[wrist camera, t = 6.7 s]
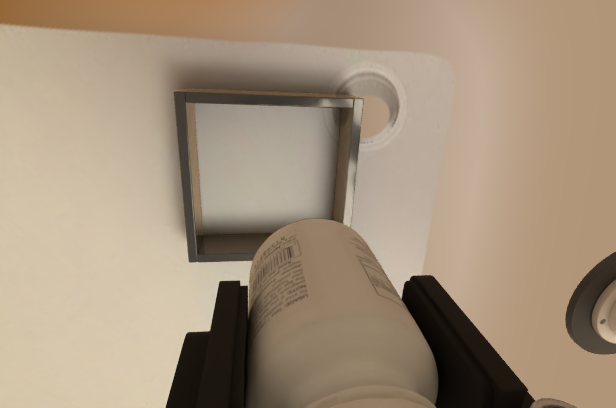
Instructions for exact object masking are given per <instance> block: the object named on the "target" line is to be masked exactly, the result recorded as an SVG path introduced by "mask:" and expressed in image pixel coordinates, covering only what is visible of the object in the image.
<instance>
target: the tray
mask: <svg viewBox="0 0 616 408" xmlns="http://www.w3.org/2000/svg"><path fill="white" fill-rule="evenodd" d="M174 99H175V111H176V122H177V133H178V144H179V156H180V167H181V178H182V190H183V201H184V212H185V224H186V235H187V246H188V258H189V262H223V261H253V259H254V257H255V255H256V253H257V251H258V249H259V248H260V247H261V245H262V244H263V243H264V242H265V241H266V240H267V239H268V238H269V237H270V236H271V235H272V234H273V233H270V234H221V235H203V222H202V208H201V193H200V179H199V164H198V150H197V135H196V121H195V106H194V103H210V104H239V105H268V106H297V107H326V108H342V110H341V123H340V135H339V148H338V160H337V173H336V185H335V198H334V210H333V221H336V222H339V223H342V224H344V225H347V226H348V227H350V228H351V220H352V210H353V200H354V190H355V180H356V170H357V160H358V151H359V141H360V131H361V121H362V111H363V101H364V99H363V98H360V97H356V96H353V95H341V94H316V93H292V92H267V91H242V90H217V89H192V88H184V89H180V90H177V91H174Z"/></svg>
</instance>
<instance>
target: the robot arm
mask: <svg viewBox="0 0 616 408" xmlns="http://www.w3.org/2000/svg"><path fill="white" fill-rule="evenodd" d="M402 301H403V303H404V304H405V306H406V307H407V309H408V311H409V313H410V314H411V316H412V317H413V319H414V320H415V322H416V324H417V325H418V327H419V329H420V331H421V332H422V334H423V336H424V338H425V340H426V341H427V343H428V345H429V347H430V349H431V351H432V353H433V356H434V359H435V362H436V366H437V371H438V394H437V399H436V403H435V407H436V408H577V407H575V406H573V405H570V404H568V403H566V402H564V401H560V400H556V399H551V398H548V399H539V400H537V401H535V400H534V399H533V398H532V396H531V395H530V394H529V393H528V392H527V391H528V389H527V388H526V386H525V385H524V384H523V383H522V382H521V381H520V379H519V378H518V377H517V376H516V375H515V373H514V372H513V371H512V370H511V369H510V367H509V366H508V365H507V364H506V363H505V361H504V360H503V359H502V358H501V357H500V356H499V354H498V353H497V352H496V351H495V349H494V348H493V347H492V346H491V345H490V343H489V342H488V341H487V340H486V339H485V337H484V336H483V335H482V334H481V333H480V332H479V330H478V329H477V328H476V327H475V326H474V324H473V323H472V322H471V321H470V320H469V318H468V317H467V316H466V315H465V314H464V312H463V311H462V310H461V309H460V308H459V306H458V305H457V304H456V303H455V302H454V300H453V299H452V298H451V297H450V296H449V294H448V293H447V292H446V291H445V290H444V289H443V287H442V286H441V285H440V284H439V282H438V281H437V280H436V279H435V278H434V277H433V276H431V275H425V276H412V277H411V278H410V281H406V282H405V284H404V289H403V294H402ZM592 326H593V328H594V330H595V332H596V333H597V334H598V335H599V336H601V337H602V338H603V339H605V340H606V341H608V342H611V343H616V279H615V280H614V281H613V282H612V283H611V284H610V285H608V287H607V288H606V289H605V290H604V291H603V292H602V294H601V295H600V297H599V298H598V300H597V302H596V304H595V306H594V309H593V312H592ZM247 333H248V286H240V281H220V282H219V287H218V292H217V297H216V303H215V308H214V313H213V319H212V324H211V329H210V331H208V332H188V333H187V334H186V336H185V339H184V343H183V347H182V350H181V354H180V357H179V361H178V365H177V368H176V372H175V376H174V379H173V383H172V386H171V390H170V394H169V397H168V401H167V405H166V408H246V407H245V379H246V355H247Z"/></svg>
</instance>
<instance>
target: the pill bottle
mask: <svg viewBox="0 0 616 408" xmlns="http://www.w3.org/2000/svg"><path fill="white" fill-rule="evenodd" d="M437 394H438V371H437V366H436V362H435V359H434V356H433V353H432V351H431V349H430V347H429V345H428V343H427V341H426V340H425V338H424V336H423V334H422V332H421V331H420V329H419V327H418V325H417V324H416V322H415V320H414V319H413V317H412V316H411V314H410V313H409V311H408V309H407V307H406V306H405V304H404V303H403V301H402V299H401V298H400V296H399V295H398V293H397V291H396V290H395V288H394V286H393V285H392V283H391V282H390V280H389V279H388V277H387V275H386V274H385V272H384V270H383V269H382V267H381V265H380V264H379V262H378V260H377V259H376V257H375V256H374V254H373V253H372V251H371V249H370V248H369V246H368V245H367V243H366V242H365V241H364V239H363V238H362V237H361V236H360V235H359V234H358V233H357V232H355V231H354V230H353V229H351V228H350V227H348V226H347V225H344V224H342V223H339V222H336V221H332V220H327V219H307V220H302V221H298V222H294V223H291V224H288V225H286V226H284V227H283V228H281V229H279V230H278V231H276V232H275V233H273V234H272V235H271V236H270V237H269V238H268V239H267V240H266V241H265V242H264V243H263V244H262V245H261V247H260V248H259V249H258V251H257V253H256V255H255V257H254V259H253V262H252V266H251V270H250V280H249V306H248V333H247V355H246V379H245V407H246V408H436V407H435V403H436V399H437Z"/></svg>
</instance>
